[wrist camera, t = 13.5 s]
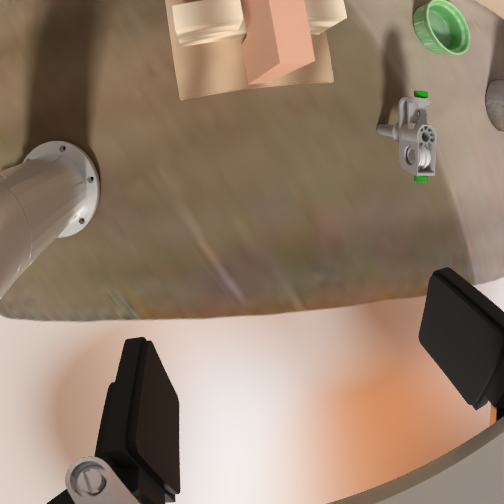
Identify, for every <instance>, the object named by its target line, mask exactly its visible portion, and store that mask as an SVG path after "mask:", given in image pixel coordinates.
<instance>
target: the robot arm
mask: <svg viewBox="0 0 504 504" xmlns="http://www.w3.org/2000/svg"><path fill="white" fill-rule="evenodd" d="M64 146H65V147H66V150H65V149H64ZM91 177H93V178H94V180H92V179H91ZM99 197H100V182H99V177H98V173H97V171H96V168H95V165H94V164H93V162H92V160H91V159H90V157H89V156H88V155H87V154H86V153H85V152H84V151H83V150H82V149H81V148H79V147H78V146H77V145H75V144H72V143H70V142H66V141H61V140H60V141H50V142H46V143H43V144H41V145H39V146H37V147H36V148H34V149H33V150H32V151H31V152H30V153H29V154H28V155H27V156H26V158H25V159H24V161H23V163H21V164H18V165H16V166H13V167H10V168H8V169H5V170H3V171H0V300H1V298H2V297H3V295H4V294H5V293H6V291H7V290H8V289H9V288H10V286H11V285H12V284H13V283H14V282H15V281H16V279H17V278H18V277H19V276H20V275H21V274H22V273H23V272H24V271H25V270H26V269H27V268H28V266H29V265H30V264H31V263H32V262H33V261H34V260H35V259H36V258H37V257H38V256H39V255H40V254H41V253H42V252H43V251H44V250H45V249H46V248H47V247H48V246H49V245H50V244H51V243H52V242H53V241H54V240H55V239H56V238H57V237H60V238H61V237H68V236H71V235H73V234H76V233H77V232H79V231H80V230H82V229H83V228H84V227H85V226H86V225H87V224H88V223H89V221H90V220H91V219H92V217H93V215H94V213H95V212H96V209H97V206H98V203H99ZM83 218H84V220H83ZM419 341H420V343H421V345H422V346H423V347H424V348H425V350H426V351H427V352H428V353H429V354H430V356H431V357H432V358H433V359H434V361H435V362H436V363H437V364H438V366H439V367H440V368H441V369H442V371H443V372H444V373H445V375H446V376H447V377H448V378H449V379H450V381H451V382H452V384H453V385H454V386H455V387H456V389H457V390H458V391H459V393H460V394H461V395H462V397H463V398H464V399H465V401H466V402H467V403H468V404H469V405H472V406H473V407H474V408H475V410H477V409H479V408H481V407H482V406H484V405H485V404H487V402H488V400H489V401H490V403H491V416H490V427H489V428H487V429H485V430H484V431H482V432H481V433H479V434H478V435H476V436H475V437H473V438H471V439H470V440H468V441H467V442H465V443H464V444H462V445H460V446H459V447H457V448H455V449H453V450H452V451H450V452H448V453H446V454H445V455H443V456H441V457H439V458H437V459H435V460H433V461H432V462H430V463H428V464H426V465H424V466H422V467H420V468H418V469H416V470H414V471H412V472H409V473H407V474H405V475H403V476H401V477H398V478H396V479H394V480H392V481H389V482H387V483H384V484H382V485H380V486H377V487H375V488H372V489H369V490H367V491H364V492H361V493H358V494H356V495H353V496H350V497H347V498H344V499H341V500H338V501H335V502H331V503H328V504H504V312H503V311H502V310H501V309H500V308H499V307H497V306H496V305H495V304H494V303H493V302H492V301H490V300H489V299H488V298H487V297H486V296H484V295H483V294H482V293H481V292H480V291H478V290H477V289H476V288H475V287H473V286H472V285H471V284H470V283H469V282H467V281H466V280H465V279H463V278H462V277H461V276H460V275H458V274H457V273H456V272H455V271H453V270H452V269H451V268H449V267H446V268H443V269H440V270H436V271H434V272H433V274H432V277H430V280H429V285H428V291H427V297H426V303H425V308H424V313H423V318H422V322H421V327H420V332H419ZM179 465H180V463H179V401H178V396H177V394H176V392H175V390H174V388H173V386H172V384H171V382H170V380H169V378H168V376H167V373H166V371H165V369H164V367H163V365H162V363H161V360H160V358H159V356H158V354H157V352H156V349H155V347H154V345H153V343H152V342H151V341H146V339H145V338H144V337H139V338H132V339H127V340H126V341H125V343H124V347H123V351H122V356H121V359H120V363H119V367H118V372H117V376H116V380H115V382H113V383H111V384H110V386H109V388H108V392H107V396H106V400H105V405H104V410H103V414H102V419H101V424H100V429H99V434H98V440H97V445H96V451H95V457H84V458H81V459H79V460H77V461H76V462H74V463H73V464H72V465H71V466H70V468H69V469H68V471H67V474H66V478H65V481H66V487H67V489H66V490H65V491H63V492H62V493H61V494H59V495H58V496H56V497H55V498H54V499H52V500H51V501H49V502H48V503H47V504H165V502H175V494H179V493H180V467H179Z"/></svg>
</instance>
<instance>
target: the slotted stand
mask: <svg viewBox="0 0 504 504" xmlns="http://www.w3.org/2000/svg"><path fill="white" fill-rule="evenodd" d="M165 2H166V9H167V17H168V24H169V31H170V39H171V45H172V52H173V59H174V65H175V72H176V78H177V84H178V90H179V96H180V100H181V101H182V100H186V99H191V98H197V97H202V96H208V95H213V94H219V93H226V92H232V91H239V90H247V89H255V88H263V87H273V86H284V85H296V84H313V83H331V82H334V79H333V72H332V65H331V59H330V52H329V46H328V40H327V35H326V30H327V29H329V28H330V27H332V26H334V25H335V24H337V23H339V22H340V21H342V20H344V19H346V18H347V15H346V10H345V6H344V1H343V0H304V3H305V8H306V13H307V18H308V23H309V28H310V34H311V39H312V45H313V51H314V57H315V61H314V62H312V63H310V64H307V65H305V66H303V67H301V68H299V69H296V70H294V71H292V72H290V73H288V74H286V75H284V76H282V77H280V78H278V79H276V80H274V81H272V82H267V83H258V84H250V85H248V79H247V73H246V67H245V61H244V55H243V49H242V43H243V42H244V40H245V38H246V36H247V34H246V28H245V22H244V16H243V11H242V8H241V2H240V0H165Z"/></svg>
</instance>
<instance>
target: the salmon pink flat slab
mask: <svg viewBox="0 0 504 504" xmlns="http://www.w3.org/2000/svg"><path fill="white" fill-rule="evenodd" d="M240 2H241V8H242V11H243V16H244V22H245V28H246V34H247V36H246V38H245V40H244V42H243V43H242V49H243V55H244V61H245V67H246V73H247V79H248V85H250V84H258V83H267V82H272V81H274V80H276V79H278V78H280V77H282V76H284V75H286V74H288V73H290V72H292V71H294V70H296V69H299V68H301V67H303V66H305V65H307V64H310V63H312V62H314V61H315V57H314V51H313V45H312V39H311V34H310V28H309V23H308V18H307V13H306V8H305V3H304V0H240Z"/></svg>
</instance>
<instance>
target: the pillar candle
mask: <svg viewBox="0 0 504 504" xmlns="http://www.w3.org/2000/svg"><path fill="white" fill-rule="evenodd" d="M485 99H486V100H485V101H486V110H487V113H488V116H489V119H490V121H491V123H492V124H493V126H494V127H495V128H496V129H497V130H499V131H504V80H494V81H491V82H490V84H489V87H488V90H487V92H486V98H485Z"/></svg>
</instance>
